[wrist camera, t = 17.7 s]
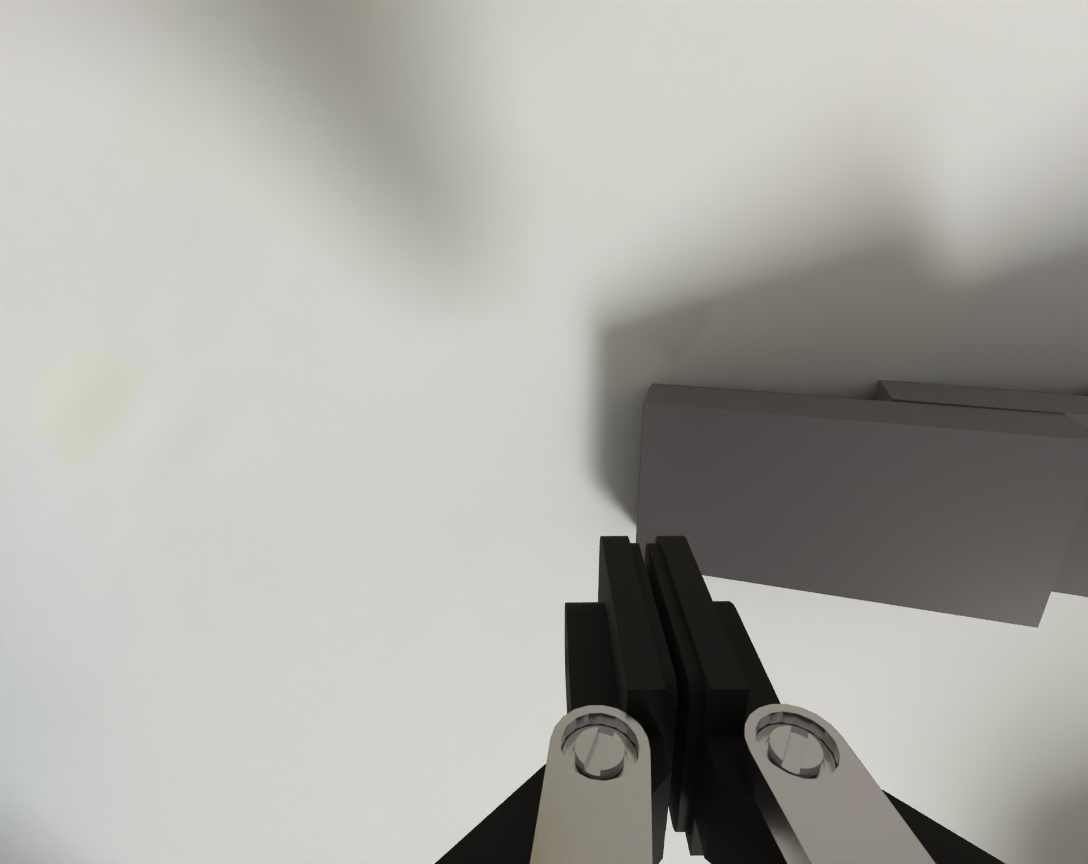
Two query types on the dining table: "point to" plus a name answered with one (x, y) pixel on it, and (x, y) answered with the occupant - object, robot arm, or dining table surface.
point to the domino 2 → (1084, 558)
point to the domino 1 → (866, 496)
